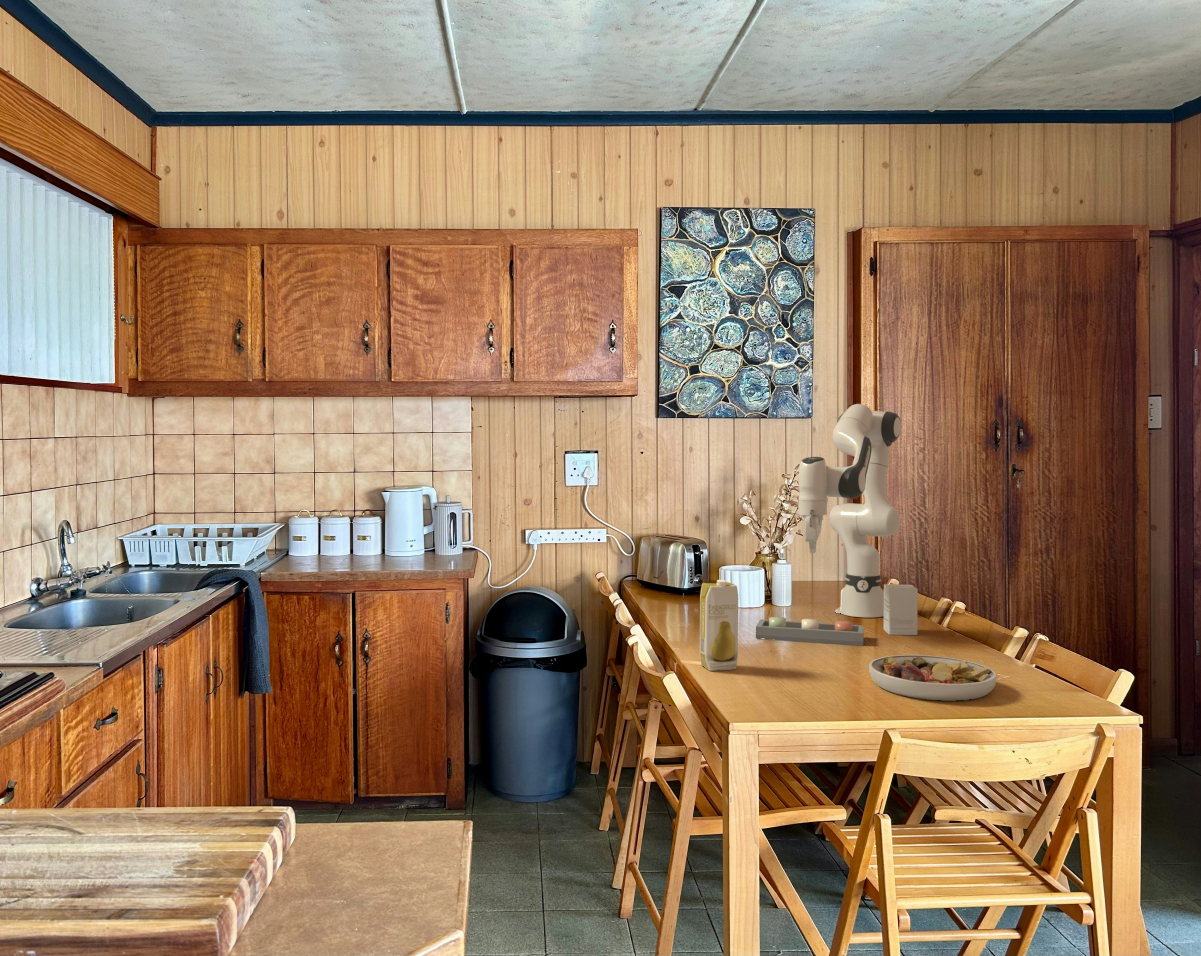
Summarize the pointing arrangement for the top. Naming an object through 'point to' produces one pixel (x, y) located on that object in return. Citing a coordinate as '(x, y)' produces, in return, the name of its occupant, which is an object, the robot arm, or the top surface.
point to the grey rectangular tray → (811, 633)
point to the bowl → (932, 677)
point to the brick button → (843, 626)
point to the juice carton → (719, 625)
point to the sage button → (777, 622)
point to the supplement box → (900, 609)
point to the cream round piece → (810, 624)
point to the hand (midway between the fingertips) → (812, 552)
